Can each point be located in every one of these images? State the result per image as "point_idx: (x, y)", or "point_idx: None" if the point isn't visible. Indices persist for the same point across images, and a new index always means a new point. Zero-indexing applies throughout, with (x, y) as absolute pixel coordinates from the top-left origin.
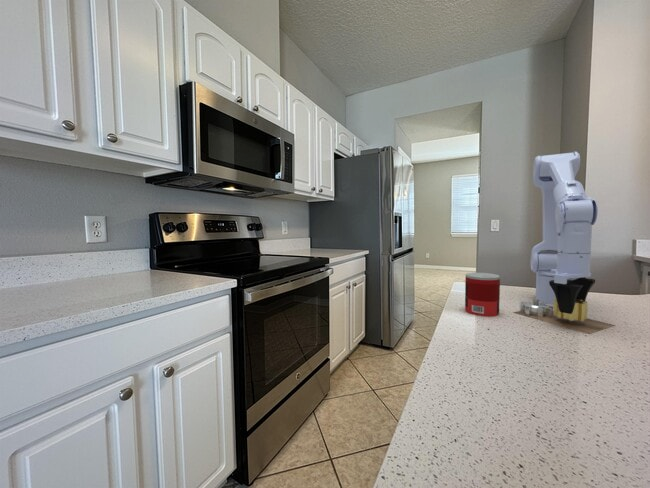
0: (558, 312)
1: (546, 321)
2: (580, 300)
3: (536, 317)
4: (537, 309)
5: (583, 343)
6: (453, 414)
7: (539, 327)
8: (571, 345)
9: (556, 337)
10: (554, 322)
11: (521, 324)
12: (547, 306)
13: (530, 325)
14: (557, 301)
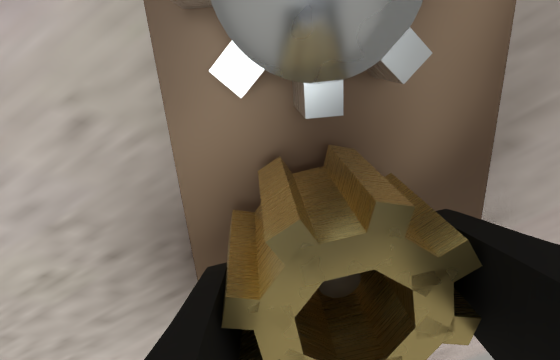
0: (230, 235)
1: (181, 158)
2: (425, 353)
3: (198, 67)
4: (218, 58)
5: (126, 354)
6: None
7: (112, 154)
8: (46, 355)
9: (65, 283)
10: (215, 188)
11: (32, 67)
12: (364, 60)
13: (84, 107)
14: (166, 329)
